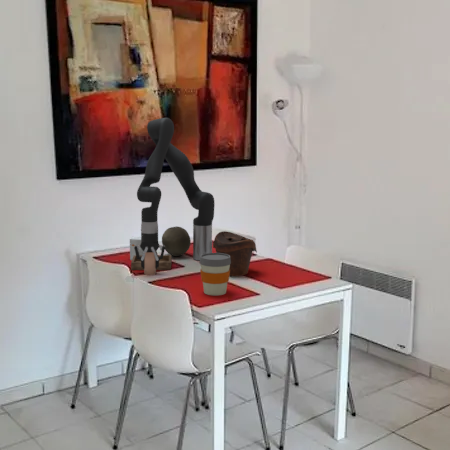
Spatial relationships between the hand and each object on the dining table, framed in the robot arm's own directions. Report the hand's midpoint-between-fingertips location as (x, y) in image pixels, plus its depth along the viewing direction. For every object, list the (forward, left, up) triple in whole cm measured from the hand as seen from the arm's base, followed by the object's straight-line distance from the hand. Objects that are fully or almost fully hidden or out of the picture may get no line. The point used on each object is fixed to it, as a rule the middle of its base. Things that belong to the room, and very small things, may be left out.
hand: (150, 268), depth 280 cm
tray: (0, -13, -2) cm, 13 cm away
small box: (+7, -27, -3) cm, 28 cm away
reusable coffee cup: (-28, +29, -3) cm, 40 cm away
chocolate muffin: (-38, -1, -3) cm, 38 cm away
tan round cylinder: (0, 0, -3) cm, 3 cm away
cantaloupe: (-11, -32, -3) cm, 34 cm away
